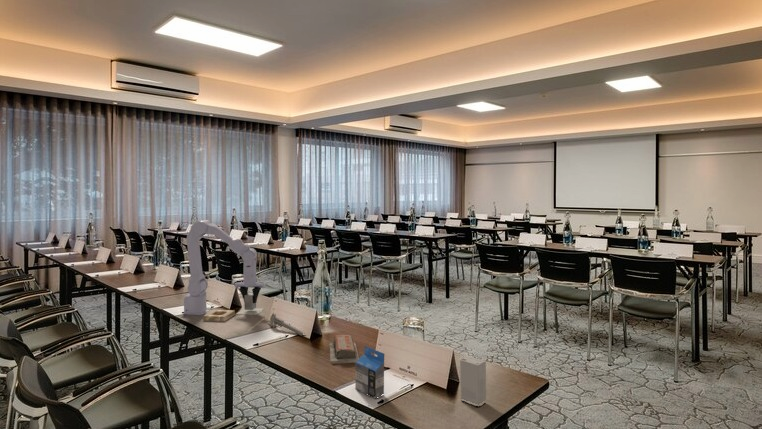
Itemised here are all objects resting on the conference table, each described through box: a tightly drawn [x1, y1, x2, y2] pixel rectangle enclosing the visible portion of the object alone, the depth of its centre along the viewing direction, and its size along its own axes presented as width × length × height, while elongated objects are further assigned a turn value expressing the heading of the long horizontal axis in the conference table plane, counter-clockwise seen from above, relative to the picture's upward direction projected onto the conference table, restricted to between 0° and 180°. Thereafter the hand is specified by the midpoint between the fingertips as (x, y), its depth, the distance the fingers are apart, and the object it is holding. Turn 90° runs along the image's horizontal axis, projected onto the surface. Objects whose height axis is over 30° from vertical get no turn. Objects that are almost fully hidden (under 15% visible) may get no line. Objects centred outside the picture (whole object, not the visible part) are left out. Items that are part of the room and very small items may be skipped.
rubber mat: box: [235, 307, 265, 316], centre depth 210 cm, size 10×10×1 cm
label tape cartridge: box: [354, 345, 385, 399], centre depth 129 cm, size 9×4×12 cm, turn 45°
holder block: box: [202, 309, 236, 322], centre depth 200 cm, size 10×10×2 cm
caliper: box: [269, 313, 304, 336], centre depth 183 cm, size 20×1×6 cm, turn 56°
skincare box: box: [459, 355, 487, 405], centre depth 123 cm, size 6×4×12 cm
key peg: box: [243, 292, 257, 310], centre depth 209 cm, size 4×4×7 cm
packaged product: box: [329, 333, 360, 365], centre depth 159 cm, size 18×5×10 cm
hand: (250, 302), depth 209 cm, fingers closed on key peg, 4 cm apart
